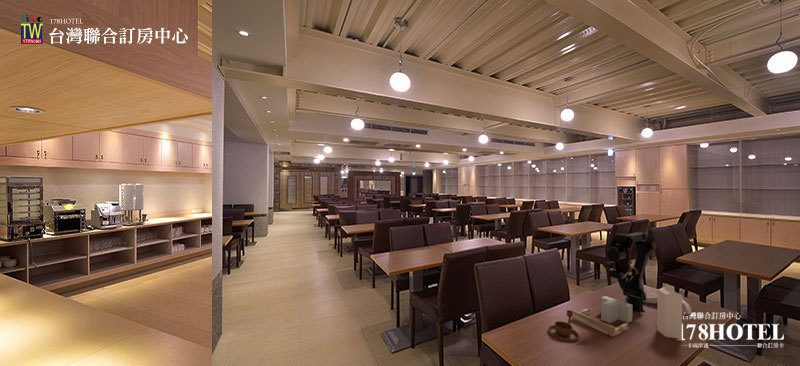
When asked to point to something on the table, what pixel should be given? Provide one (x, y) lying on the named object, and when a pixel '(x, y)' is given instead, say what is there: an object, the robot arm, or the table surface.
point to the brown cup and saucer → (565, 330)
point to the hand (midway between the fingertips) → (622, 288)
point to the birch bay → (598, 323)
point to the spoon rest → (654, 299)
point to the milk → (669, 312)
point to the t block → (615, 310)
